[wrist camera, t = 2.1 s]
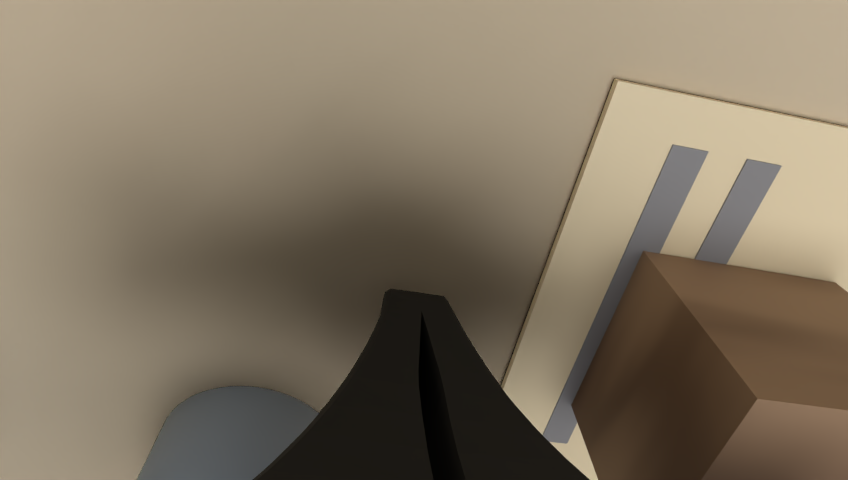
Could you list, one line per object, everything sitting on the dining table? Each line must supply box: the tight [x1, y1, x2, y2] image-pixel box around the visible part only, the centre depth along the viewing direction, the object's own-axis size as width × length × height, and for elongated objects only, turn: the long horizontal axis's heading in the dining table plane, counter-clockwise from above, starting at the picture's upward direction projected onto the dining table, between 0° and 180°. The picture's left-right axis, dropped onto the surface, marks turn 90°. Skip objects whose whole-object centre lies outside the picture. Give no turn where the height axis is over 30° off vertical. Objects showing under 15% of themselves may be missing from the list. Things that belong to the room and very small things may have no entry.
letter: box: [501, 79, 848, 480], centre depth 14 cm, size 12×9×1 cm
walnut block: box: [571, 251, 848, 480], centre depth 12 cm, size 5×5×4 cm
